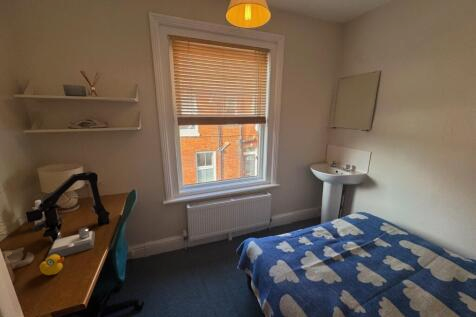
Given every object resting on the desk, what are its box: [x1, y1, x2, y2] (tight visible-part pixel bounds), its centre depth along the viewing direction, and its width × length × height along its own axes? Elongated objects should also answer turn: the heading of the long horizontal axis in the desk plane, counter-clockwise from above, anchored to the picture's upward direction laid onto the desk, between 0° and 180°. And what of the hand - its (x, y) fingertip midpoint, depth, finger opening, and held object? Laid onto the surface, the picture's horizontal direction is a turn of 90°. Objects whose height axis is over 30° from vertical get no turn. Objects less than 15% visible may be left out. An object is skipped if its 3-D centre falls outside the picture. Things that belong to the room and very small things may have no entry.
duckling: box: [39, 254, 65, 276], centre depth 97 cm, size 11×5×10 cm, turn 93°
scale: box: [46, 230, 96, 258], centre depth 118 cm, size 20×16×5 cm
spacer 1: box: [49, 230, 63, 244], centre depth 123 cm, size 5×5×5 cm
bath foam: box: [33, 199, 46, 230], centre depth 136 cm, size 7×7×20 cm
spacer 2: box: [77, 227, 90, 240], centre depth 122 cm, size 5×5×5 cm
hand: (56, 238), depth 123 cm, fingers closed on spacer 1, 5 cm apart
